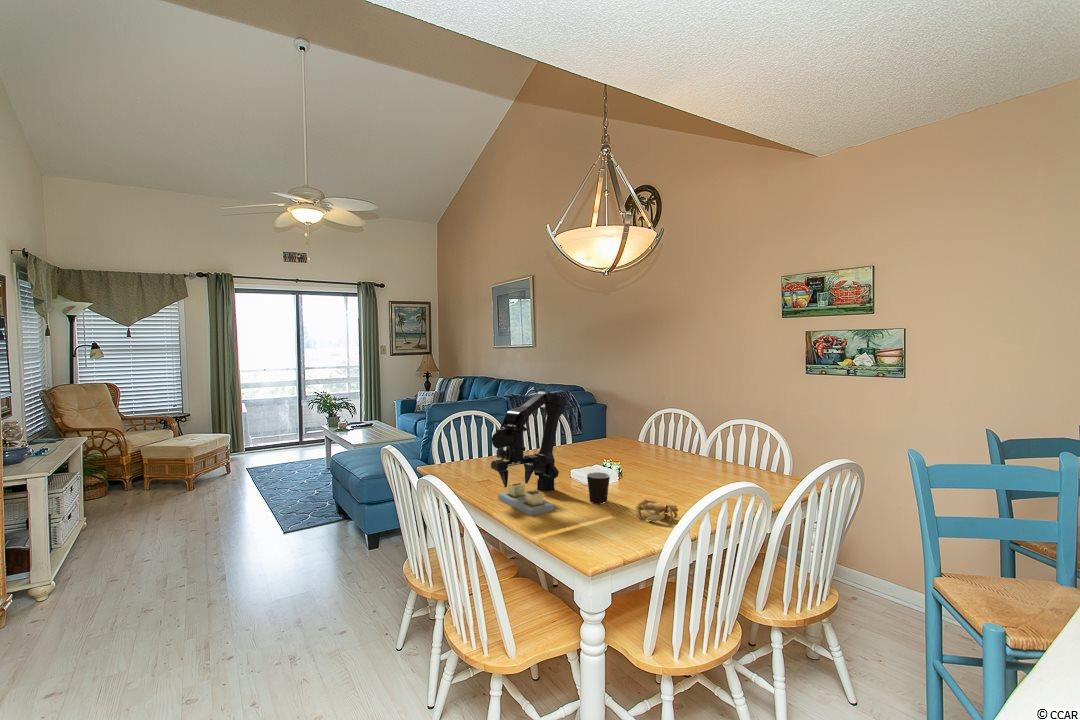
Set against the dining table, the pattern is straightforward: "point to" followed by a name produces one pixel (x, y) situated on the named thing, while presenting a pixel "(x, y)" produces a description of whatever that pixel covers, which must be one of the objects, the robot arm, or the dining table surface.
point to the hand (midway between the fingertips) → (516, 485)
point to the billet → (516, 490)
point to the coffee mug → (598, 486)
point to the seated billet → (534, 498)
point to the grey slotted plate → (521, 504)
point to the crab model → (656, 507)
